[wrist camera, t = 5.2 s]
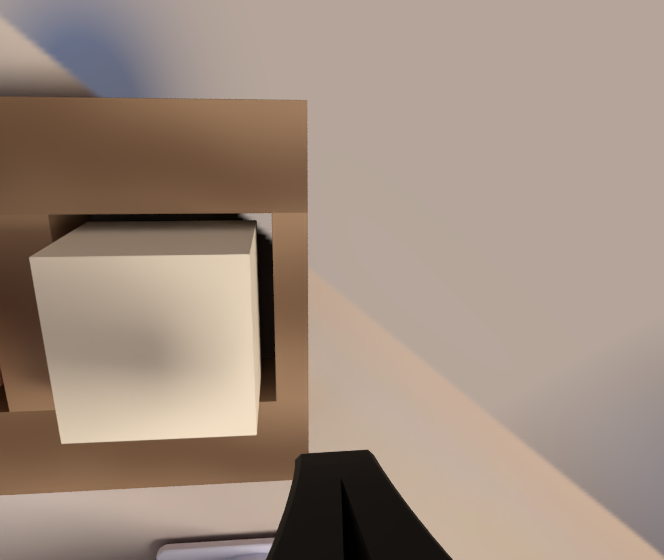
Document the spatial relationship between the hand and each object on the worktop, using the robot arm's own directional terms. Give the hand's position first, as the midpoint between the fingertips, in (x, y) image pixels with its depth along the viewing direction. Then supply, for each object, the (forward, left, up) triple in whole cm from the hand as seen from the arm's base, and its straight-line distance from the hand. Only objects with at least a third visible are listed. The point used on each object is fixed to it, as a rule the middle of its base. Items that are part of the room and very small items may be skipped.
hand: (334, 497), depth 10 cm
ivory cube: (+1, +4, -8) cm, 9 cm away
